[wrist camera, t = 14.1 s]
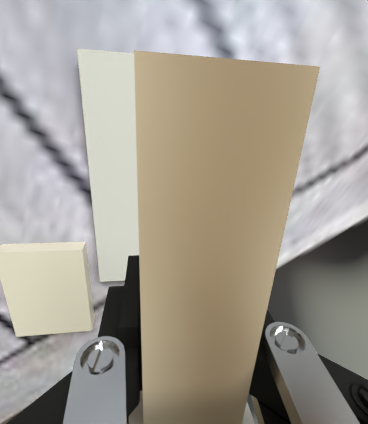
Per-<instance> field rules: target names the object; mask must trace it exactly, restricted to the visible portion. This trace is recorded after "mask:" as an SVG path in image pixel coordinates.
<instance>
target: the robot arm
mask: <svg viewBox="0 0 368 424" xmlns="http://www.w3.org/2000/svg"><path fill="white" fill-rule="evenodd" d="M142 390H143V385H142V346H141V306H140V267H139V255H133V256H128V262H127V270H126V277H125V285H124V286H112V287H109V289H108V293H107V298H106V302H105V307H104V311H103V316H102V321H101V325H100V330H99V334H98V338H95V339H93V340H91V341H89V342H87V343H86V344H85V345H84V346H83V347H82V348H81V349H80V350H79V352H78V353H77V356H76V358H75V361H74V367H73V371H72V372H70V373H69V374H68V375H67V376H65V377H64V378H63V379H62V380H60V381H59V382H58V383H57V384H55V385H54V386H53V387H52V388H50V389H49V390H48V391H47V392H45V393H44V394H43V395H42V396H40V397H39V398H38V399H37V400H35V401H34V402H33V403H32V404H31V405H29V406H28V407H27V408H26V409H24V410H23V411H22V412H21V413H19V414H18V415H17V416H16V417H14V418H13V419H12V420H11V421H9V422H8V423H7V424H129V415H130V414H131V413H132V412H133V411H134V409H135V408H136V407H137V406H138V405H139V402H140V391H142ZM249 394H251V395H252V402H253V406H254V409H255V413H256V416H257V419H258V423H259V424H368V380H367V379H364V378H363V377H361V376H359V375H357V374H355V373H353V372H351V371H349V370H347V369H346V368H344V367H342V366H340V365H338V364H336V363H334V362H332V361H330V360H328V359H327V358H325V357H323V356H321V355H319V354H317V353H316V351H315V349H314V348H313V346H312V344H311V343H310V341H309V340H308V338H307V337H306V336H305V334H304V333H303V332H301V331H300V330H299V329H298V328H296V327H294V326H293V325H290V324H287V323H282V322H274V320H273V319H272V317H271V315H270V313H269V312H268V310H267V311H266V316H265V321H264V325H263V330H262V334H261V339H260V343H259V348H258V353H257V357H256V362H255V366H254V371H253V376H252V380H251V385H250V389H249Z"/></svg>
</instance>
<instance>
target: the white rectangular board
mask: <svg viewBox="0 0 368 424" xmlns="http://www.w3.org/2000/svg"><path fill="white" fill-rule="evenodd" d="M77 53H78V64H79V74H80V84H81V94H82V104H83V115H84V125H85V135H86V145H87V155H88V166H89V176H90V186H91V196H92V206H93V217H94V227H95V237H96V247H97V257H98V268H99V278H100V282H106V281H125V277H126V270H127V262H128V256H133V255H139V227H138V187H137V148H136V108H135V69H134V53H122V52H110V51H99V50H87V49H77Z"/></svg>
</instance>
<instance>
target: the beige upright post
mask: <svg viewBox="0 0 368 424" xmlns="http://www.w3.org/2000/svg"><path fill="white" fill-rule="evenodd" d="M319 68H320V67H317V66H306V65H294V64H283V63H271V62H260V61H248V60H237V59H226V58H214V57H203V56H191V55H180V54H168V53H157V52H145V51H134V69H135V108H136V148H137V187H138V227H139V267H140V306H141V346H142V385H143V390H142V391H140V402H139V405H138V406H137V407H136V408H135V409H134V411H133V412H132V413H131V414H130V415H129V424H255V423H254V420H253V418H252V415H251V412H250V409H249V406H248V403H247V398H248V394H249V389H250V385H251V380H252V376H253V371H254V366H255V362H256V357H257V353H258V348H259V343H260V339H261V334H262V330H263V325H264V321H265V316H266V311H267V306H268V302H269V298H270V293H271V288H272V284H273V279H274V274H275V270H276V266H277V261H278V256H279V252H280V247H281V243H282V238H283V233H284V229H285V224H286V220H287V215H288V211H289V206H290V201H291V197H292V192H293V188H294V183H295V178H296V174H297V169H298V165H299V160H300V156H301V151H302V146H303V142H304V137H305V133H306V128H307V123H308V119H309V114H310V110H311V105H312V101H313V96H314V91H315V87H316V82H317V78H318V73H319Z"/></svg>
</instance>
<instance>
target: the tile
mask: <svg viewBox="0 0 368 424" xmlns="http://www.w3.org/2000/svg"><path fill="white" fill-rule="evenodd" d="M0 280H1V283H2V287H3V290H4V294H5V297H6V301H7V305H8V308H9V312H10V315H11V319H12V323H13V326H14V330H15V333H16V337H19V336H31V335H44V334H56V333H69V332H81V331H92V329H93V325H94V321H95V316H94V307H93V298H92V290H91V281H90V273H89V264H88V255H87V247H86V242H63V243H28V244H2V245H1V246H0Z"/></svg>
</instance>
